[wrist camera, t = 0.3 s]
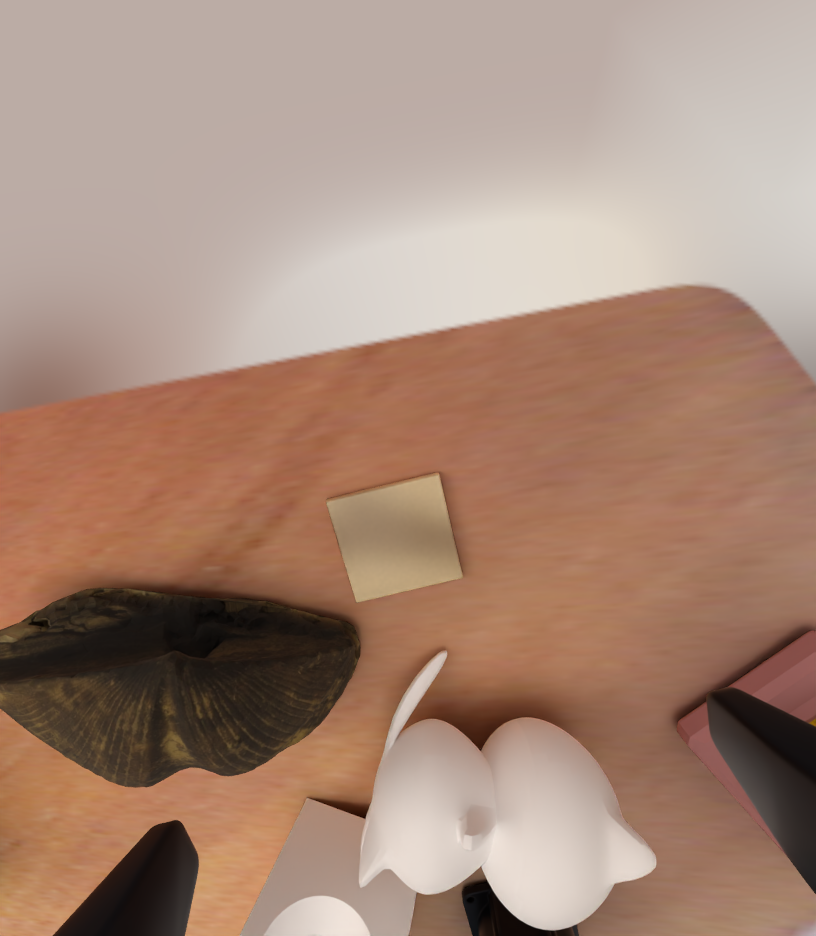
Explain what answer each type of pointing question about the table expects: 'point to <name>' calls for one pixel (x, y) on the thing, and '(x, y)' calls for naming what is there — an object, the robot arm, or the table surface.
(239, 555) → the table surface
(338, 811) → the bracket
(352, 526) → the coaster
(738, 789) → the yellow mantel clock
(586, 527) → the table surface
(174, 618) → the seashell
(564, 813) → the cat figurine
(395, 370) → the table surface
